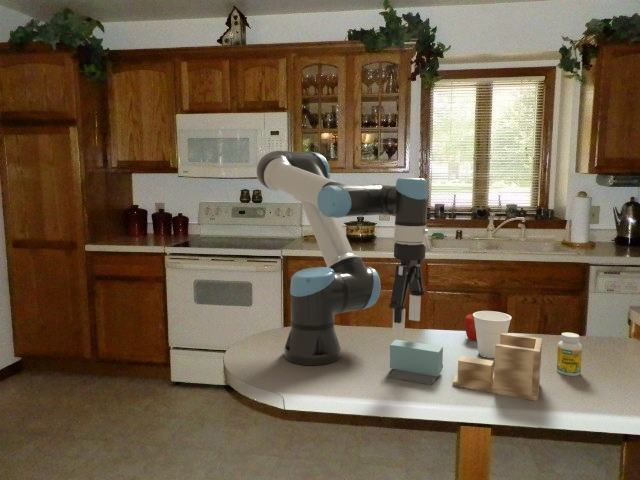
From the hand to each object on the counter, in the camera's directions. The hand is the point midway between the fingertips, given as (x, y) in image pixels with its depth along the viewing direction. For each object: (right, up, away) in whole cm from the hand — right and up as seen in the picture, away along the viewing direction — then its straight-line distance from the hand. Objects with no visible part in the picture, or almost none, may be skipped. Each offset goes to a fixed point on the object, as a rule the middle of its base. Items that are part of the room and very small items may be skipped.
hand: (406, 327), depth 123 cm
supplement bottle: (+40, -11, 0) cm, 42 cm away
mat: (+3, -11, 0) cm, 11 cm away
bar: (+2, -10, 0) cm, 10 cm away
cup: (+25, -10, +12) cm, 29 cm away
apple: (+25, -8, +25) cm, 36 cm away
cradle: (+20, -12, -7) cm, 24 cm away
